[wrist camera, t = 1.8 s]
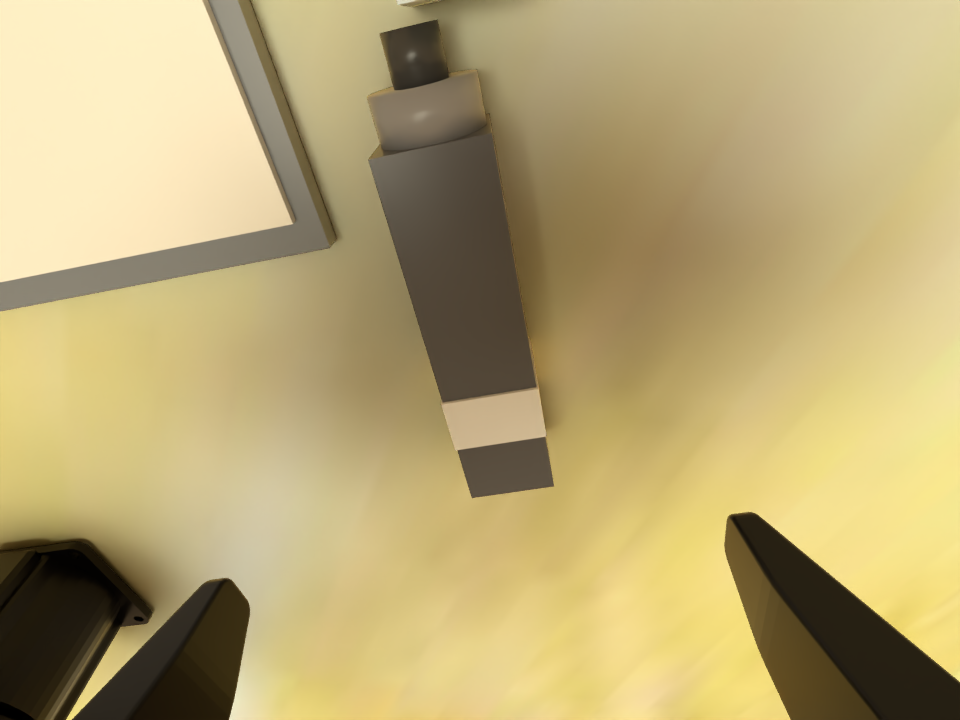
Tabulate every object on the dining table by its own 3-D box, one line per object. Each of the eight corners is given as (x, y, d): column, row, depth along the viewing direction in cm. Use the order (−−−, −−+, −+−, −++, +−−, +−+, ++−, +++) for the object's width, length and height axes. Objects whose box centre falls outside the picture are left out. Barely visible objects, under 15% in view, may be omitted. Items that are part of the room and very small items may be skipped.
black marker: (546, 430, 21) (555, 487, 18) (471, 441, 21) (470, 500, 19) (473, 11, 13) (472, 10, 11) (357, 39, 14) (329, 45, 11)
